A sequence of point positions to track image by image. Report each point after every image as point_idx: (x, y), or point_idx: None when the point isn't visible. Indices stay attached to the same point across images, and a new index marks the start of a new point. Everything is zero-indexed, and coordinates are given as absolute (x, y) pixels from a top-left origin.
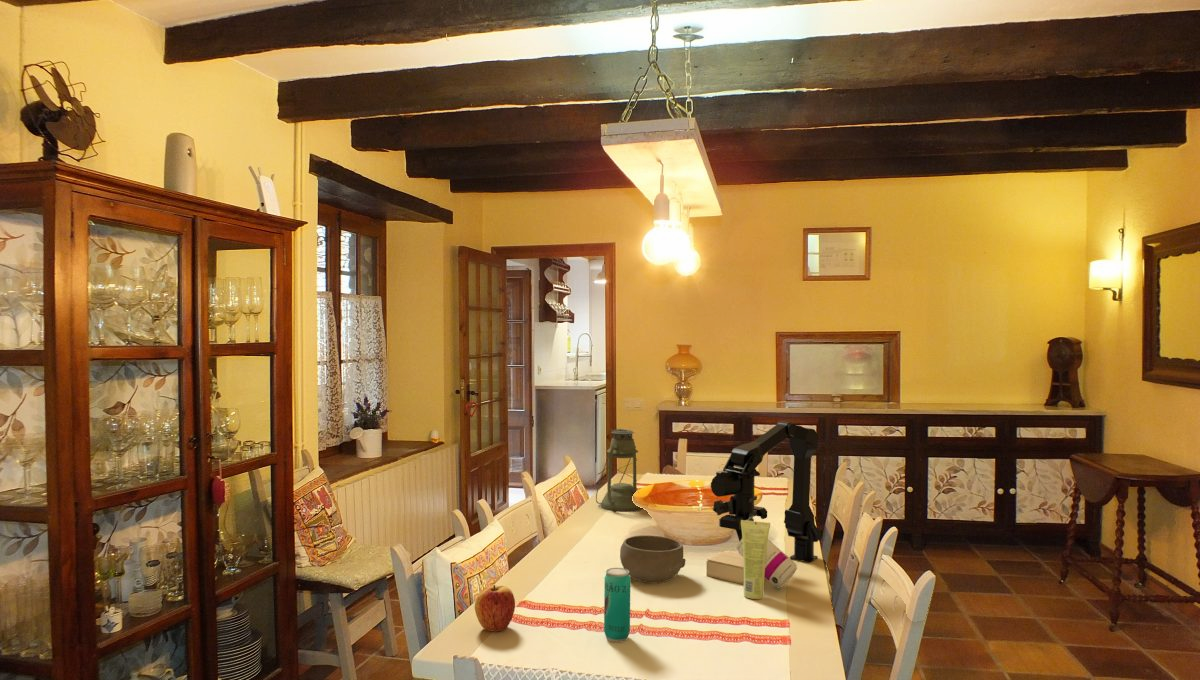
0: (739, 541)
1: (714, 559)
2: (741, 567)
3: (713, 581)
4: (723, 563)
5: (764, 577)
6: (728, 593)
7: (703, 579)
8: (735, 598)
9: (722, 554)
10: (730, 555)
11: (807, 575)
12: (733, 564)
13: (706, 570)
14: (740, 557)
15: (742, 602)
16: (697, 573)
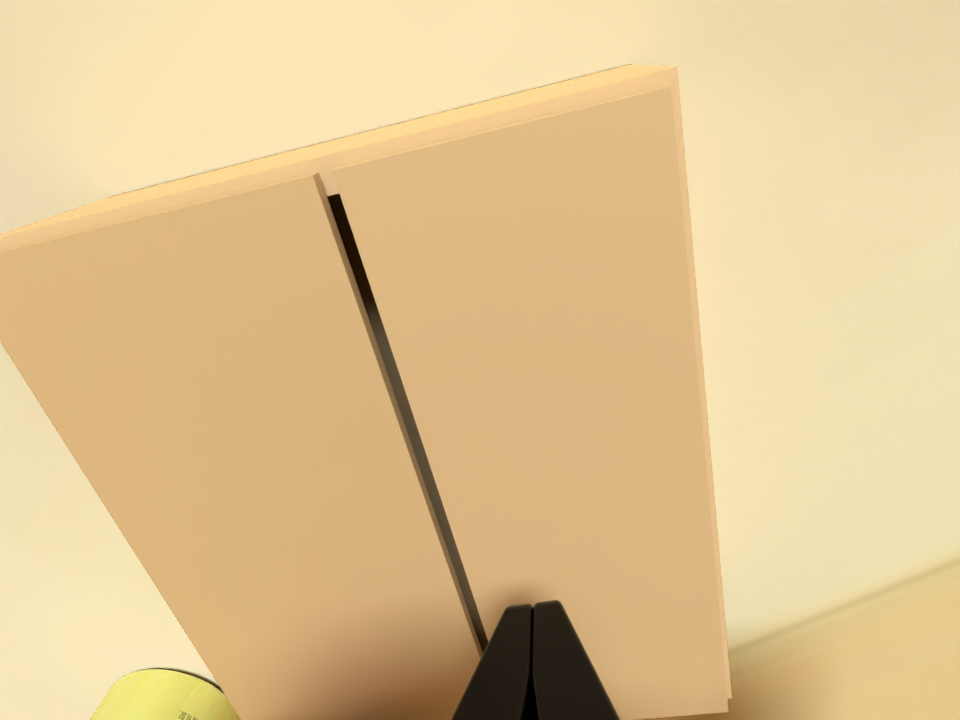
0: (461, 701)
1: (63, 338)
2: (219, 669)
3: None
4: (108, 495)
5: None
6: (47, 594)
7: None
8: (40, 663)
9: (370, 229)
10: (438, 353)
11: (899, 713)
12: (182, 598)
13: (70, 210)
14: (484, 494)
15: (44, 714)
16: (58, 49)
